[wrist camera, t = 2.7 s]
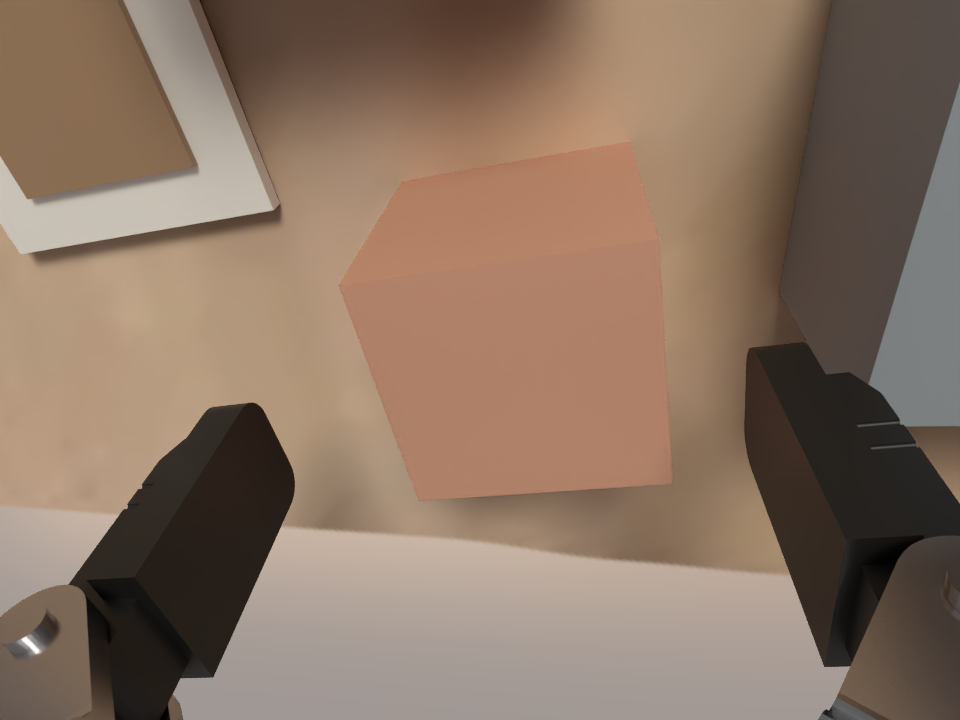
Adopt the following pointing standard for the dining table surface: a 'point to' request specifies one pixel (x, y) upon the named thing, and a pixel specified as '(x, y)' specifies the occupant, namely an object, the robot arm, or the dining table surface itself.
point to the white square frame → (118, 123)
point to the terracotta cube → (519, 327)
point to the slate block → (884, 206)
